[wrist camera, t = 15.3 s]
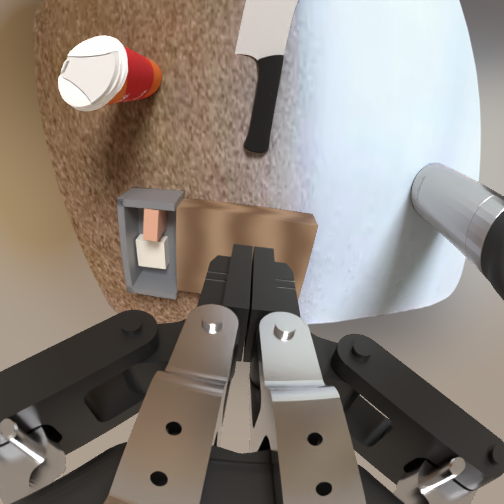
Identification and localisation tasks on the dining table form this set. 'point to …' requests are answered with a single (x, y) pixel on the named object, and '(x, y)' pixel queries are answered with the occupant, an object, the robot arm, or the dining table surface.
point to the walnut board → (238, 237)
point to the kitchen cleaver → (265, 61)
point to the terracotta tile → (154, 224)
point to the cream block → (153, 252)
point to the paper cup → (106, 74)
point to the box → (132, 227)
